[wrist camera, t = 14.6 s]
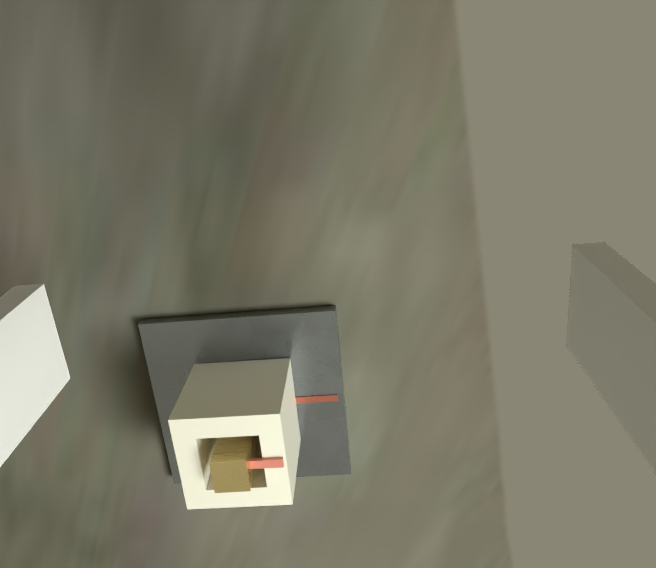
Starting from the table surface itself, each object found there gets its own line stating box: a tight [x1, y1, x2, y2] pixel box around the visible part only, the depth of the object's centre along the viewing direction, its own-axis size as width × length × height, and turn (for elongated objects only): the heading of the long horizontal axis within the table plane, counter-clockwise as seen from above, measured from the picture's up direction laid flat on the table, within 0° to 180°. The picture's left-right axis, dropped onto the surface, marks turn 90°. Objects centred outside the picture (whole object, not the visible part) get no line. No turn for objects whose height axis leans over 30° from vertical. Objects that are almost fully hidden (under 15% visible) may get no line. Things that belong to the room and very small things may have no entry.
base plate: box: [138, 306, 351, 493], centre depth 49 cm, size 16×16×10 cm
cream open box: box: [168, 358, 301, 509], centre depth 49 cm, size 8×8×8 cm
